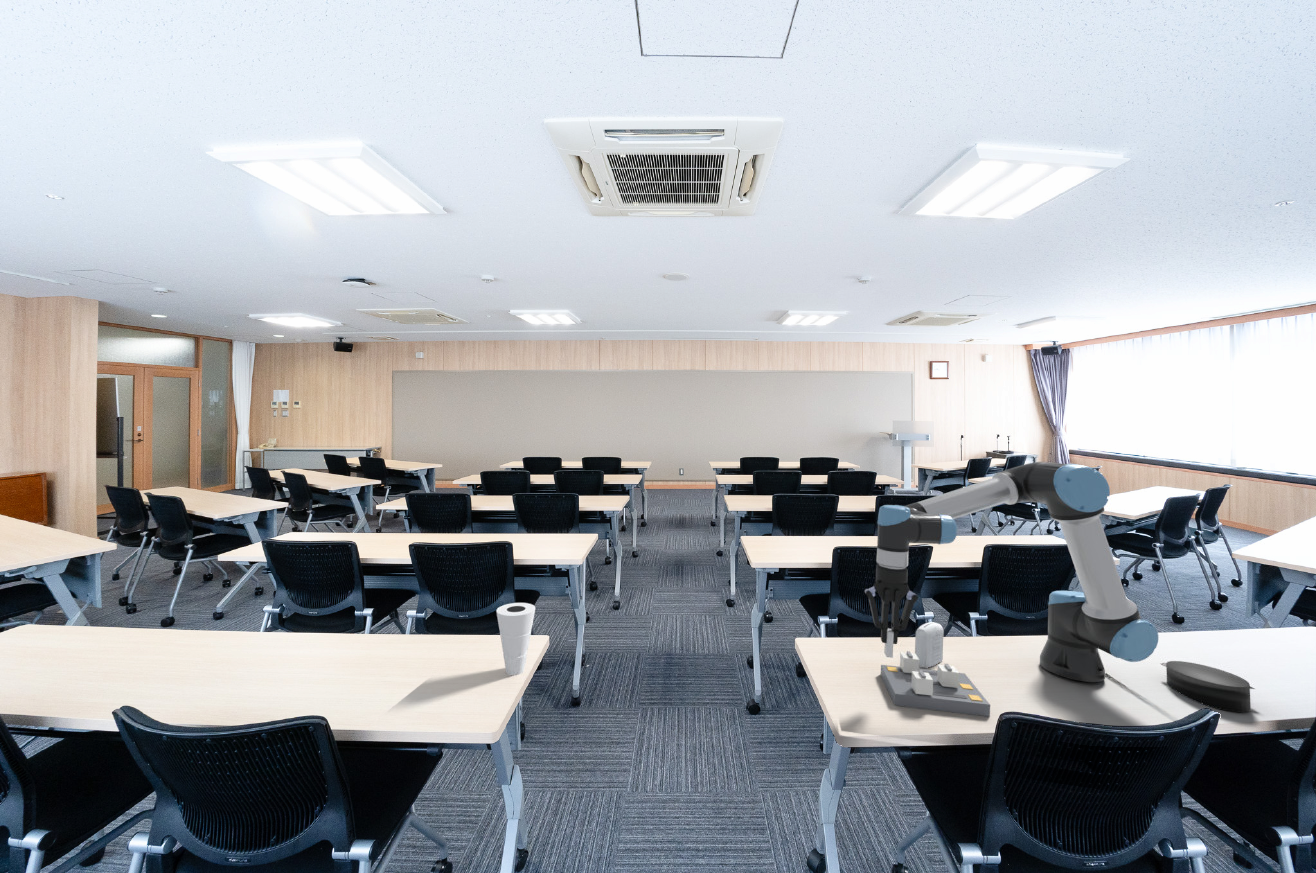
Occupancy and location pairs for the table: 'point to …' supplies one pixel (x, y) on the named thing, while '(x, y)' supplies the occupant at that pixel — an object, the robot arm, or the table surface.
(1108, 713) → the table surface
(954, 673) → the slider mid
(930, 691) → the slider
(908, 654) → the slider
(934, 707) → the console
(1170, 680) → the dark grey oval block
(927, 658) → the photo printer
